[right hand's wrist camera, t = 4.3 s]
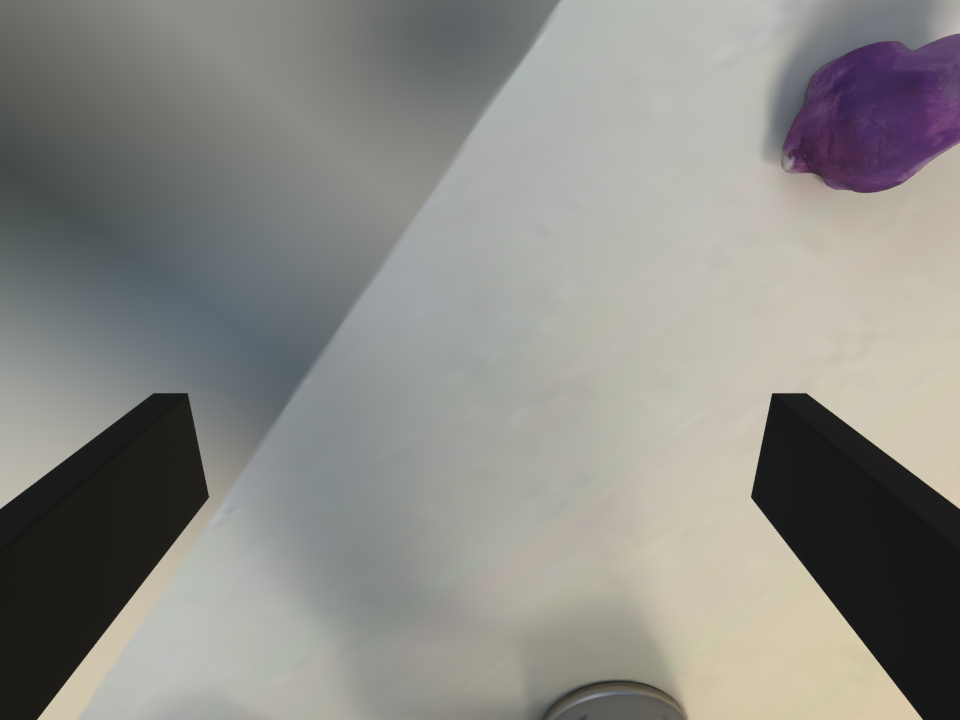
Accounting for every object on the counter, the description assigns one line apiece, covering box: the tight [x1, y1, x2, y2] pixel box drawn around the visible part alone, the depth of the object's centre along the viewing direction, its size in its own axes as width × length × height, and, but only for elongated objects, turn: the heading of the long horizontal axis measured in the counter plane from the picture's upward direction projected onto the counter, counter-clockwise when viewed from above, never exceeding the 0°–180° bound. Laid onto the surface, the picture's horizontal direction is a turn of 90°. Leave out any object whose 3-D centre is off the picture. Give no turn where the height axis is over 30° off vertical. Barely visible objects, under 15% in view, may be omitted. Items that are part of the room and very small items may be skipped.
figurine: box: [781, 34, 960, 193], centre depth 29 cm, size 9×10×15 cm
